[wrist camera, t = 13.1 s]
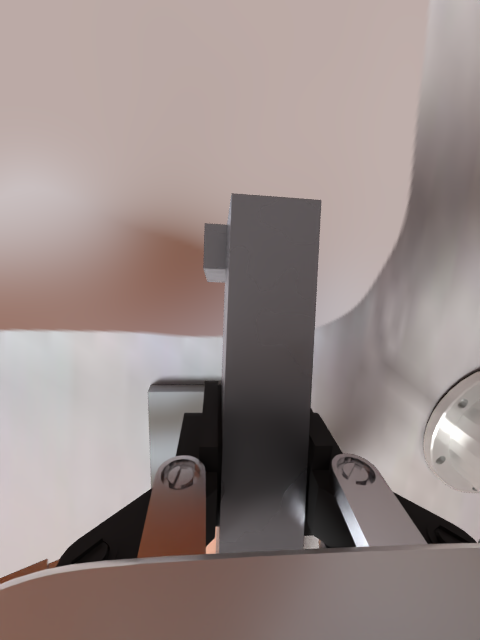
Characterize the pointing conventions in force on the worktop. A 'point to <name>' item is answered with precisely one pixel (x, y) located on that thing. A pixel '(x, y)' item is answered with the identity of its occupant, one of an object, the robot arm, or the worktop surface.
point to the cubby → (169, 419)
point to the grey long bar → (265, 366)
